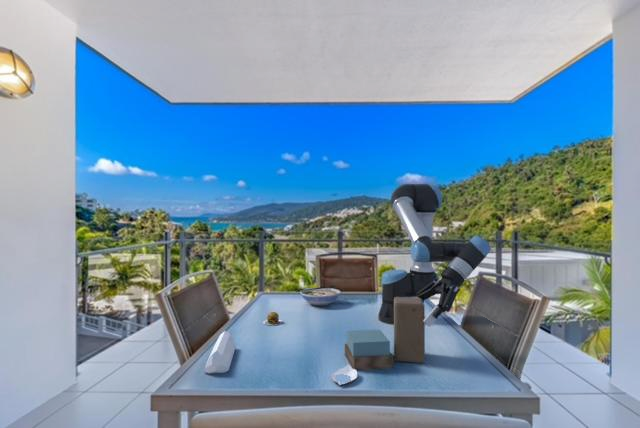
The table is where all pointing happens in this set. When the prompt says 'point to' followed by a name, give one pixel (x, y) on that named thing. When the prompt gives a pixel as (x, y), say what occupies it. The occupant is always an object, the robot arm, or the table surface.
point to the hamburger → (273, 318)
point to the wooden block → (409, 329)
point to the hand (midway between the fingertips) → (416, 318)
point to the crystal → (221, 354)
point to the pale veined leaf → (345, 373)
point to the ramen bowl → (320, 295)
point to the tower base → (368, 361)
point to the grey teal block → (368, 343)
